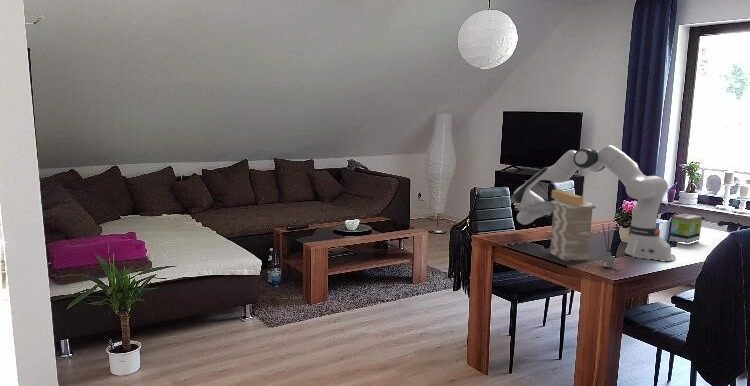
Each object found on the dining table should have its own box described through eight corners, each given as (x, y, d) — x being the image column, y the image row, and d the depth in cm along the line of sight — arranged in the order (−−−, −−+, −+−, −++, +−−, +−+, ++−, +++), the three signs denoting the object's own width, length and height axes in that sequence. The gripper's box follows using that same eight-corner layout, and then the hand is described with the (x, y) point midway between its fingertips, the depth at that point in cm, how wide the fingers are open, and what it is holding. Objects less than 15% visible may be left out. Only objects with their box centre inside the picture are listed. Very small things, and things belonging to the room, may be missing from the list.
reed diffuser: (595, 266, 254) (599, 223, 251) (603, 263, 258) (607, 221, 255) (616, 271, 246) (621, 227, 243) (624, 269, 250) (628, 225, 247)
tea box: (688, 245, 298) (691, 218, 296) (668, 242, 306) (671, 215, 303) (699, 242, 308) (702, 215, 305) (680, 238, 315) (683, 212, 313)
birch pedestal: (547, 252, 276) (551, 200, 272) (573, 251, 279) (577, 200, 275) (564, 261, 261) (568, 206, 257) (591, 260, 263) (595, 206, 259)
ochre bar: (551, 197, 282) (551, 189, 281) (558, 197, 283) (559, 189, 282) (574, 205, 260) (575, 197, 260) (582, 205, 261) (583, 196, 261)
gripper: (515, 204, 304) (526, 196, 291) (550, 204, 308) (562, 195, 295) (517, 215, 302) (528, 207, 289) (552, 215, 306) (564, 207, 293)
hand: (545, 201), depth 292 cm, fingers open, 8 cm apart
